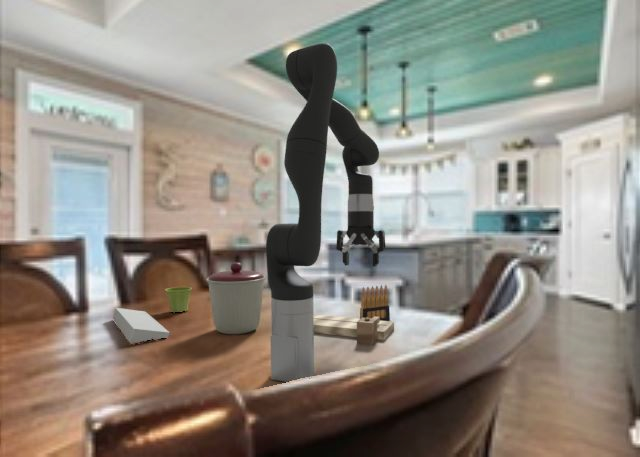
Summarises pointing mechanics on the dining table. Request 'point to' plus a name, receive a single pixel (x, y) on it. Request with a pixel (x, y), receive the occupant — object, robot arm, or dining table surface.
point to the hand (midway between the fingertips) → (360, 265)
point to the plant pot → (178, 298)
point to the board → (347, 326)
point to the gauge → (367, 330)
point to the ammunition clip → (375, 304)
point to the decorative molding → (138, 325)
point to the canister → (236, 299)
